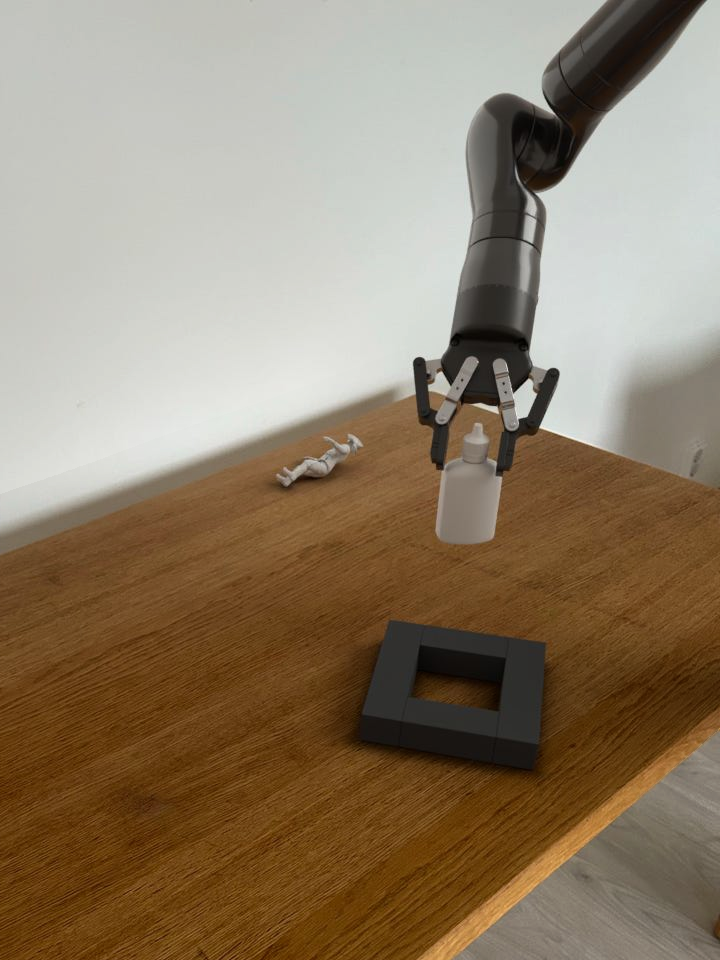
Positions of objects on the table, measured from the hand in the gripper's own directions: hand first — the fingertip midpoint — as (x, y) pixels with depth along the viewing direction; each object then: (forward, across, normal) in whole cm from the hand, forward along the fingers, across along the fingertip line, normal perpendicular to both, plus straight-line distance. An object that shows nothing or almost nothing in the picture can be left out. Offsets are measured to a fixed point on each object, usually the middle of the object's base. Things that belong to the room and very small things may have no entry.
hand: (469, 470), depth 94 cm
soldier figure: (-8, -20, +32) cm, 39 cm away
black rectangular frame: (+21, +2, +3) cm, 22 cm away
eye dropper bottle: (+5, 0, +7) cm, 9 cm away
